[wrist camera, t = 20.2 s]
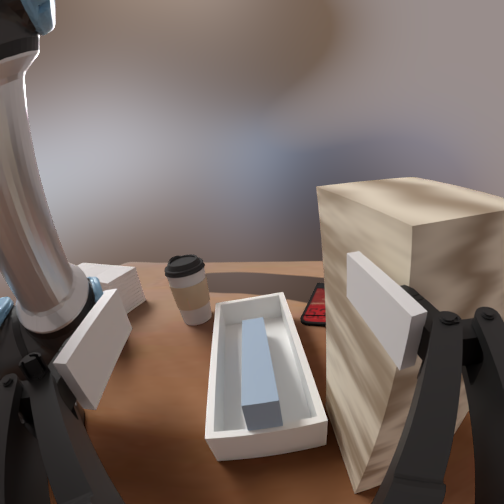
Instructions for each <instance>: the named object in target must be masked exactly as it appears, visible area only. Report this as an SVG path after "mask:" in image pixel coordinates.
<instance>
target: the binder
mask: <svg viewBox="0 0 504 504" xmlns="http://www.w3.org/2000/svg"><path fill="white" fill-rule="evenodd" d="M301 323H302V324H304V325H308V326H310V325H314V326H326V307H325V285H324V283H317V285H316V287H315V289H314V291H313V293H312V295H311V298H310V300H309V302H308V304H307V306H306V308H305V310H304V312H303V314H302V316H301Z"/></svg>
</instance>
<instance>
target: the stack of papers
mask: <svg viewBox="0 0 504 504" xmlns="http://www.w3.org/2000/svg"><path fill="white" fill-rule="evenodd" d="M78 267H79V268H81V269H82V270H83V272H84V273H85V275H86V277H89V276H90V277H97V278H98V279H99V281H100V284H101V287H102V291H106V290H111V289H118V292H119V295H120V298H121V300H122V303H123V306H124V308H125V311H126V314H127V313H129V312H130V311H132V310H133V309H134V308H136V307H137V306H139V305H140V304H141V303H143V302H144V301H146V298H145V295H144V292H143V289H142V286H141V283H140V280H139V277H138V274H137V271H136V267H128V266H115V265H102V264H92V263H82V264H80V265H78Z"/></svg>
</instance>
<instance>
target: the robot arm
mask: <svg viewBox="0 0 504 504" xmlns="http://www.w3.org/2000/svg"><path fill="white" fill-rule="evenodd" d="M54 27H55V0H0V272H1V274H2V276H3V277H4V279H5V281H6V282H7V284H8V286H9V287H10V289H11V290H12V292H13V294H14V295H15V296H16V298H17V300H16V306H14V305H13V304H14V303H13V301H12V300H11V299H10V298H9V297H2V298H0V504H50V497H49V489H48V479H49V482H50V485H51V488H52V491H53V494H54V496H55V499H56V501H57V504H125V503H124V501H123V500H122V498H121V496H120V495H119V493H118V492H117V490H116V488H115V487H114V485H113V483H112V481H111V480H110V478H109V476H108V474H107V473H106V471H105V469H104V467H103V465H102V463H101V461H100V459H99V457H98V455H97V453H96V451H95V449H94V447H93V445H92V443H91V441H90V438H89V436H88V434H87V432H86V429H85V427H84V425H83V424H84V410H83V409H93V410H96V409H97V406H98V404H99V401H100V399H101V397H102V394H103V392H104V389H105V387H106V385H107V382H108V380H109V378H110V376H111V373H112V371H113V369H114V367H115V364H116V362H117V360H118V358H119V356H120V353H121V351H122V349H123V347H124V345H125V343H126V341H127V338H128V336H129V334H130V332H131V330H132V326H131V324H130V321H129V319H128V316H127V314H126V311H125V308H124V306H123V303H122V300H121V298H120V295H119V292H118V289H111V290H106V291H105V292H104V294H103V291H102V287H101V284H100V281H99V279H98V278H97V277H90V276H89V277H86V275H85V273H84V272H83V270H82V269H81V268H79V267H78V266H76V265H74V264H71V263H68V260H67V258H66V255H65V253H64V250H63V248H62V245H61V242H60V240H59V237H58V234H57V232H56V229H55V226H54V223H53V220H52V217H51V214H50V211H49V207H48V204H47V201H46V197H45V194H44V191H43V187H42V183H41V179H40V175H39V171H38V167H37V163H36V158H35V153H34V148H33V143H32V138H31V132H30V126H29V119H28V111H27V103H26V93H25V80H24V77H25V74H26V71H27V70H28V68H29V67H30V65H31V64H32V63H33V61H34V60H35V58H36V57H37V56H38V54H39V37H40V36H41V35H45V34H47V33H48V32H50V31H52V30H53V29H54ZM347 298H348V299H349V301H350V302H351V303H352V305H353V306H354V307H355V309H356V310H357V311H358V313H359V314H360V315H361V317H362V318H363V319H364V321H365V322H366V324H367V325H368V326H369V328H370V329H371V330H372V332H373V333H374V335H375V336H376V337H377V339H378V340H379V342H380V343H381V344H382V346H383V347H384V349H385V350H386V352H387V353H388V354H389V356H390V357H391V359H392V360H393V362H394V363H395V364H396V366H397V367H398V369H399V370H403V369H406V368H408V367H411V366H414V365H415V362H416V358H417V355H418V356H419V357H420V358H421V359H422V363H421V366H420V369H419V373H418V376H417V384H416V388H415V391H414V395H413V399H412V402H411V406H410V409H409V413H408V416H407V419H406V422H405V425H404V428H403V431H402V434H401V437H400V440H399V442H398V445H397V448H396V450H395V453H394V456H393V458H392V461H391V463H390V465H389V468H388V470H387V472H386V475H385V477H384V479H383V481H382V483H381V485H380V488H379V490H378V492H377V494H376V496H375V498H374V500H373V502H372V503H371V504H442V502H443V499H444V496H445V492H446V485H445V484H444V483H443V478H444V474H445V471H446V467H447V463H448V459H449V455H450V451H451V446H452V442H453V436H454V431H455V425H456V419H457V413H458V405H459V397H460V387H461V374H462V375H463V380H464V385H465V390H466V395H467V400H468V406H469V412H470V419H471V426H472V435H473V445H474V458H475V504H504V321H503V319H502V318H501V316H500V314H499V313H498V312H497V311H496V310H494V309H493V308H490V307H479V308H478V309H476V311H475V314H474V318H470V319H461V318H460V317H459V315H457V314H455V313H454V312H450V311H441V312H440V311H439V310H437V309H436V308H435V307H434V306H433V305H432V304H431V303H430V302H428V301H427V300H426V299H424V297H423V296H422V295H420V294H419V293H418V292H417V291H416V290H415V289H414V288H411V287H409V286H407V285H401V286H399V285H398V284H397V283H396V282H395V281H394V280H392V279H391V278H390V277H389V276H388V275H387V274H386V273H384V272H383V271H382V270H381V269H380V268H379V267H377V266H376V265H375V264H374V263H373V262H372V261H370V260H369V259H368V258H367V257H366V256H364V255H363V254H362V253H361V252H360V251H356V252H351V253H347ZM47 476H48V479H47Z"/></svg>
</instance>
